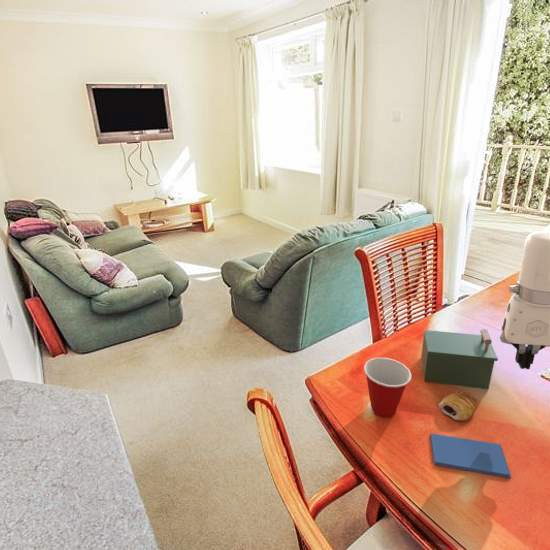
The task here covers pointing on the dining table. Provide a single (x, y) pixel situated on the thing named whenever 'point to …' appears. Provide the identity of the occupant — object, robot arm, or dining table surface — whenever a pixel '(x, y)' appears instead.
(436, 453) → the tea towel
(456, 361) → the bin
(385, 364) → the plastic cup
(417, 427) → the dining table surface
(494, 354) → the bread bin lid
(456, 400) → the pastry
